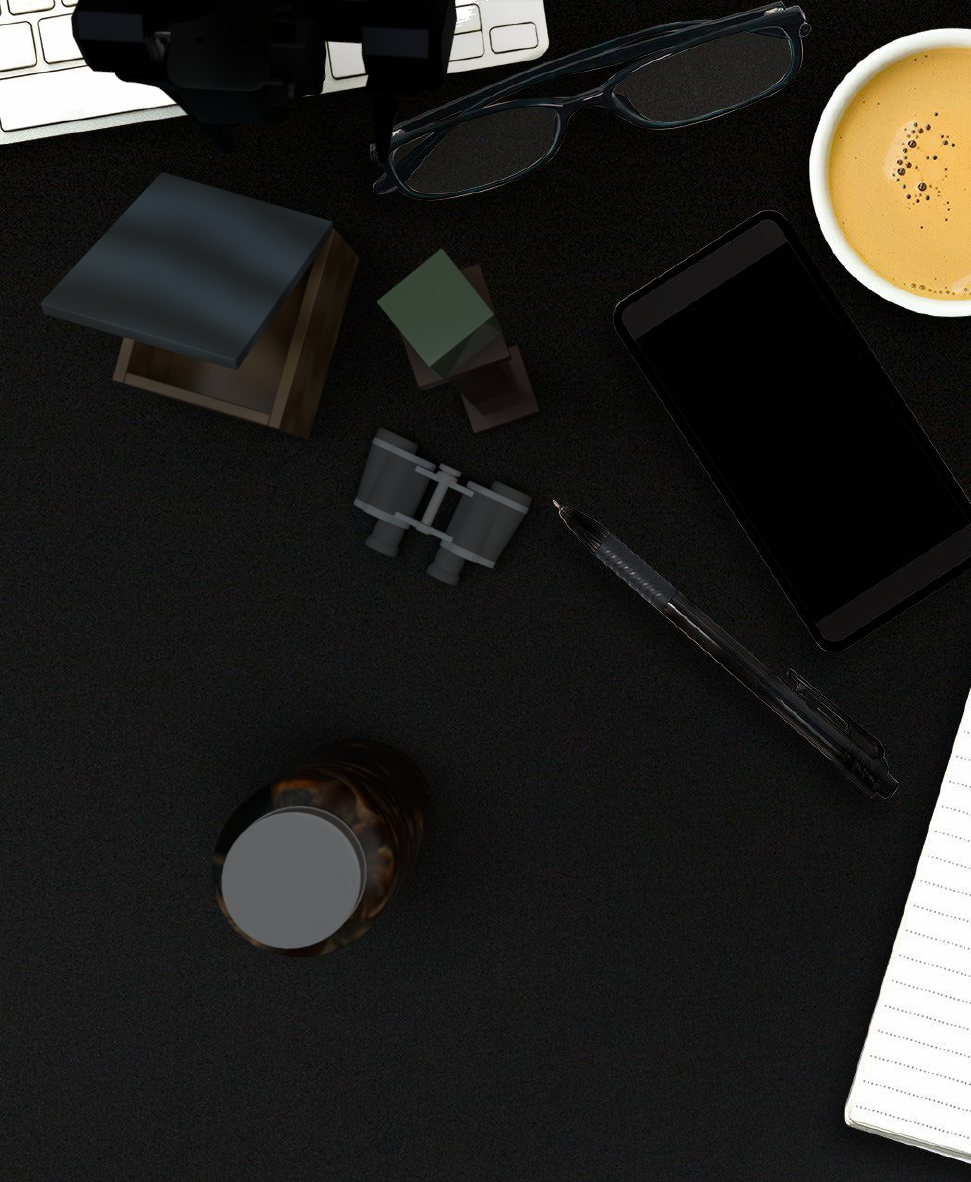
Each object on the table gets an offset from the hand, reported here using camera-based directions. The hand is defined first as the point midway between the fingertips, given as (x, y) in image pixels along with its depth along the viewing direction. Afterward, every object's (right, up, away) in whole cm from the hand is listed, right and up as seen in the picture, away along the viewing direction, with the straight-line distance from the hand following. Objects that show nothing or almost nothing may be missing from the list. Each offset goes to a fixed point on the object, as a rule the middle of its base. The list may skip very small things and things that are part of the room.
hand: (307, 154), depth 62 cm
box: (-7, -7, +14) cm, 17 cm away
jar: (-1, -42, +16) cm, 45 cm away
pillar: (+10, -11, +14) cm, 20 cm away
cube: (+9, -12, -8) cm, 17 cm away
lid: (-7, -6, +3) cm, 10 cm away
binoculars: (+6, -20, +15) cm, 25 cm away
